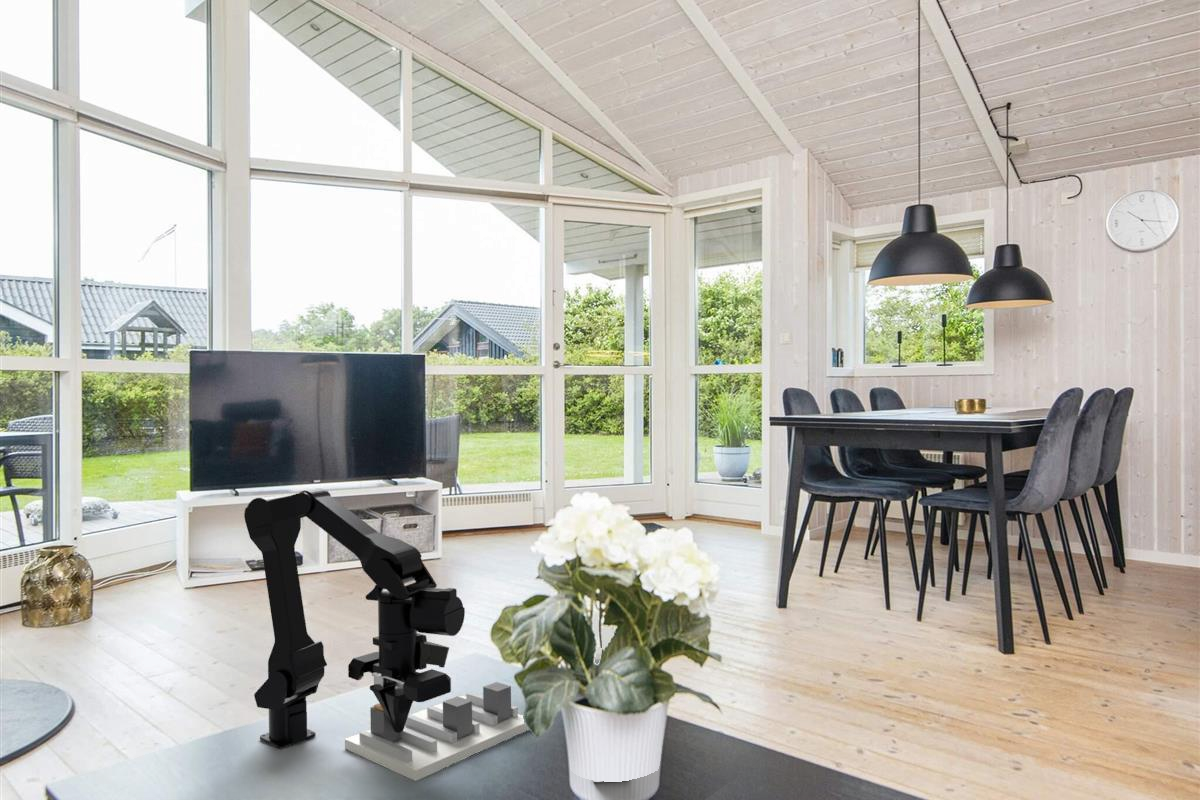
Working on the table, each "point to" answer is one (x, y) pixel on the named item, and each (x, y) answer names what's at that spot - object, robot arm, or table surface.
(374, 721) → the block
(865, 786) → the table surface
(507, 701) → the block
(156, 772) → the table surface
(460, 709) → the block
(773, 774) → the table surface
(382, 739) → the breaker board
